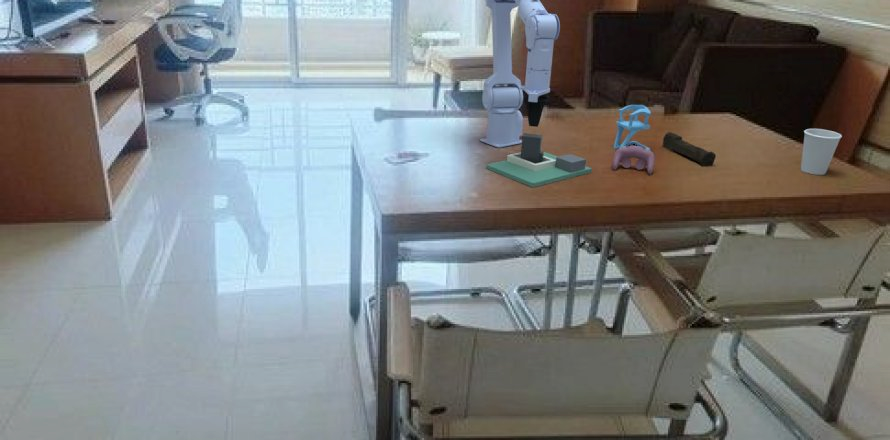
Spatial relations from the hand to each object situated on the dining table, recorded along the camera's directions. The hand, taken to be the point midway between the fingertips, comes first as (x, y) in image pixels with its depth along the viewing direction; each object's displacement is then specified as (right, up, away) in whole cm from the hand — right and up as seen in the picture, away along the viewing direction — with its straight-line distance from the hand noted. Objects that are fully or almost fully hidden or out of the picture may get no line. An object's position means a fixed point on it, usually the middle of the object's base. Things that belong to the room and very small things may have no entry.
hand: (533, 125), depth 160 cm
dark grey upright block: (0, -9, +4) cm, 9 cm away
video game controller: (+25, -10, +5) cm, 28 cm away
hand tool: (+42, -6, +18) cm, 46 cm away
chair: (+29, -3, +22) cm, 37 cm away
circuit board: (+1, -11, +2) cm, 11 cm away
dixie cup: (+72, -10, +9) cm, 73 cm away
